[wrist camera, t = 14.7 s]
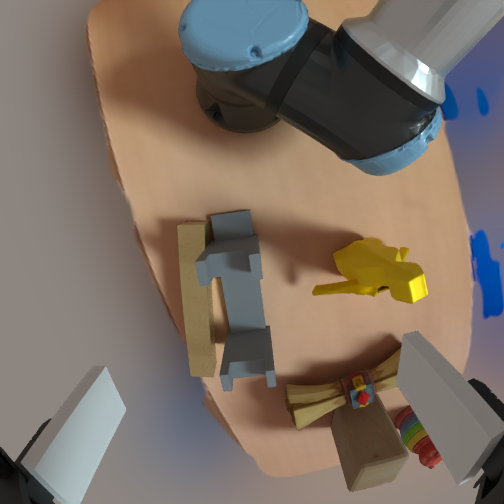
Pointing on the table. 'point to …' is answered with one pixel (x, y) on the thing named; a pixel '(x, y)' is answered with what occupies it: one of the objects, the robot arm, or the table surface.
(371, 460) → the wooden block
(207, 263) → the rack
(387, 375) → the scroll
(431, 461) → the stacking bear
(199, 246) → the rail
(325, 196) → the table surface
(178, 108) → the table surface
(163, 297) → the table surface
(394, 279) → the figure statuette
